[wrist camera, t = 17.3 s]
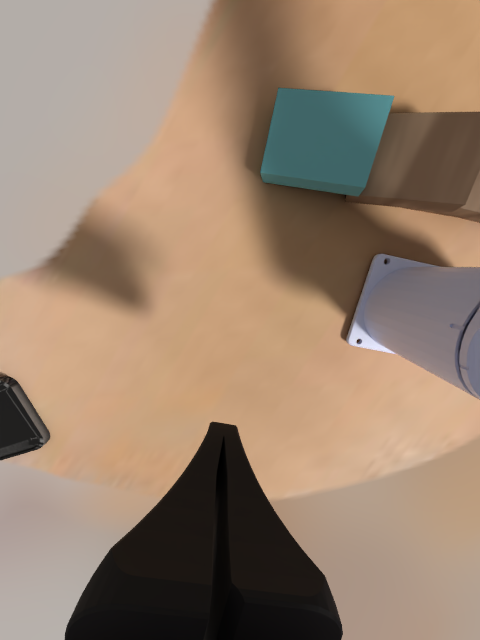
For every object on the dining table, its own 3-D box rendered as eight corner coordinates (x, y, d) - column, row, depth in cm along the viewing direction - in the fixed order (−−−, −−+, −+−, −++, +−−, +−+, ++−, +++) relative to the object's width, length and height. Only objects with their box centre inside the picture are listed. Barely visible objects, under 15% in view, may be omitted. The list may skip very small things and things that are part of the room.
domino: (366, 128, 16) (484, 129, 14) (344, 201, 17) (451, 212, 15) (370, 113, 15) (503, 111, 13) (346, 193, 16) (465, 204, 14)
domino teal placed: (279, 106, 16) (383, 115, 15) (263, 182, 17) (358, 196, 16) (278, 87, 14) (394, 95, 13) (260, 172, 16) (365, 187, 14)
